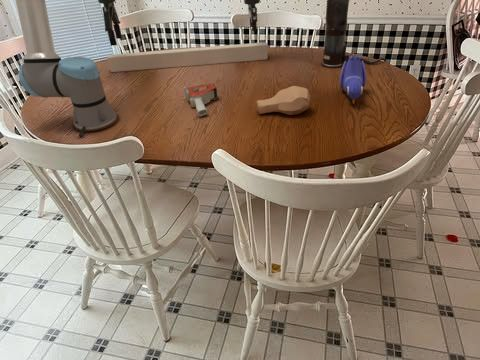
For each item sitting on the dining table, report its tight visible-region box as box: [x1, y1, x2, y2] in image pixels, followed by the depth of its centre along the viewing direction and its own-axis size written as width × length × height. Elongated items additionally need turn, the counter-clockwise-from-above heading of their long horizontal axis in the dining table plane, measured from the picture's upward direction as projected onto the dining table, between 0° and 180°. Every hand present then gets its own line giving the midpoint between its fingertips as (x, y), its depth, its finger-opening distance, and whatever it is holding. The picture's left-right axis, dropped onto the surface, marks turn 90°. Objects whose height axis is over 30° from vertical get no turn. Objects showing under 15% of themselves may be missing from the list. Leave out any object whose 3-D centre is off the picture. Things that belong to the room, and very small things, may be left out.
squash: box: [255, 85, 312, 116], centre depth 130 cm, size 11×20×9 cm, turn 92°
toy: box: [339, 55, 367, 105], centre depth 136 cm, size 10×17×25 cm
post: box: [106, 41, 269, 73], centre depth 181 cm, size 80×5×7 cm, turn 95°
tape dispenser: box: [183, 82, 218, 117], centre depth 140 cm, size 18×5×20 cm
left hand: (116, 41), depth 173 cm, fingers open, 13 cm apart
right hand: (253, 28), depth 176 cm, fingers open, 8 cm apart
